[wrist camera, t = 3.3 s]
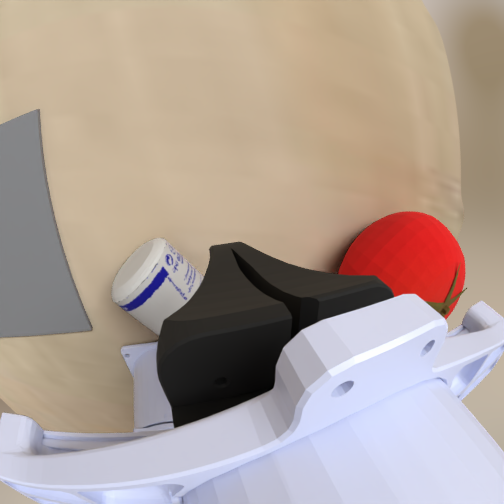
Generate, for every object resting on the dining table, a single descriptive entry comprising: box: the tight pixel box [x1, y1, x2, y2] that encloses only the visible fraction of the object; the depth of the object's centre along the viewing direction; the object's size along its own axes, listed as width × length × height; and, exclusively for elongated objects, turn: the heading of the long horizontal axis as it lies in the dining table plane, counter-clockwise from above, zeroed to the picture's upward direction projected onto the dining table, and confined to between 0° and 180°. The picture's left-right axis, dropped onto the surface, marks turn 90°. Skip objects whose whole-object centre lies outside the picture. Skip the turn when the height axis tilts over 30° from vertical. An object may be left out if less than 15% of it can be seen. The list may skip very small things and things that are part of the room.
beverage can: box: [111, 238, 204, 335], centre depth 21 cm, size 6×6×15 cm
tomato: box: [338, 212, 467, 320], centre depth 22 cm, size 12×13×11 cm
